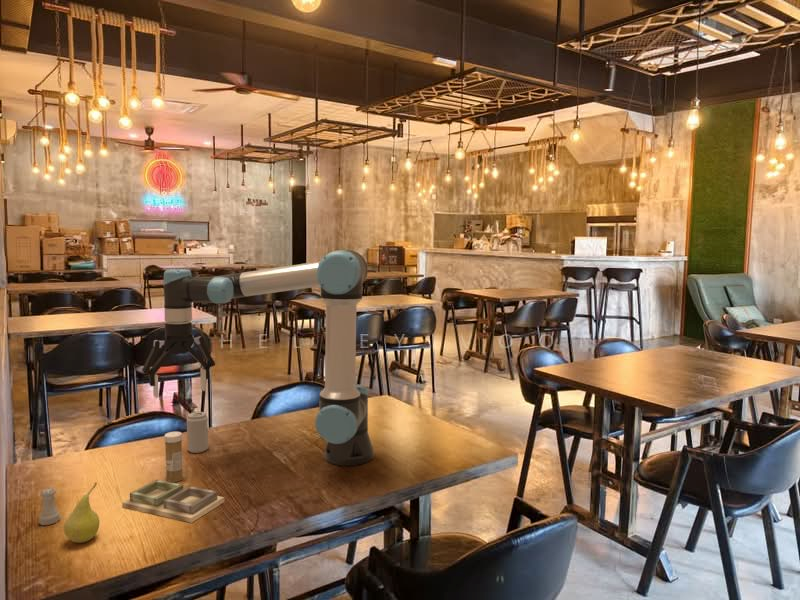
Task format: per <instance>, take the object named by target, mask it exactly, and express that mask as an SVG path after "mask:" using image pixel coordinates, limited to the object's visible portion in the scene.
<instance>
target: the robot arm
mask: <svg viewBox="0 0 800 600" xmlns="http://www.w3.org/2000/svg"><path fill="white" fill-rule="evenodd" d="M368 267H369V266H368V263H367V261H366V260H365V258H364V257H363V256H362V255H361V254H360V253H359V252H356V251H354V250H349V249H347V250H342V249H339V250H338V249H337V250H333V251H331V252H329V253H327V254H326V255H325V256H323V257H322V258H321V259H320V261H313V262H305V263H300V264H291V265H286V266H280V267H279V266H277V267H273V268H272V267H271V268H265V269H258V270H252V271H245V272H237V273H229V274H228V273H227V274H223V275H213V276H193V275H192V271H191V270H190V269H184V268H183V269H182V268H181V269H179V268H178V269H176V268H175V269H166V270H165V271H164V272H163V284H162V286H163V299H164V306H163V307H164V322H165V324H164V339H163V340H157V339H154V340H153V343H152V348H151V350H150V353H149V355H148V357H147V359H146V361H145V363H144V364H143V367H142V369H141V372H142V373H143V374H145V375H148V377H149V378H148V379H149V380H148V382H149V383H148V384H149V386H151V387H152V390H153V391H152V392H153V394H152V395H153V397H154V398H156V399H158V398H159V397H160V396H159V375H158V374H157V373H158V372H159V370H160V368H161V367H162V366H163V365H164V364H165V362H166V361H167V360H168V358H170V357H171V356H172V354H173V355H180V354H187V353H189V354H190V355H191V356H192V357H193V358H194V359H195V360H196V361H197V362H198V364H200V365H201V366H202V367H201V368H200V372H199V373H200V390H201V391H203V392H205V391H207V380H209V379H210V369H211V368H212V367H215V366H216V362H215V360H214V358H213V356H212V355H211V353H210V352H209V349H208V348H207V346H206V344H205V340H204V337H203V336H200V335H198V336H197V337H194V336H193V323H192V322H191V321H192V320H193V304H192V303H203V304H205V303H209V304H217V305H218V304H226V303H229V302H230V301H231V299H232V300H233V299H237V298H245V297H251V296H259V295H266V294H273V293H281V292H282V293H283V292H288V291H289V292H290V291H295V290H302V289H303V290H304V289H310V288H317V287H318V288H319V287H320V300H321V301H322V302H324V304H325V353H324V354H325V355H324V356H325V358H324V359H325V362H324V363H325V364H324V365H325V366H324V367H325V368H324V388H323V389H321V390H320V392H319V403H318V404H319V407H318V410H319V411H318V412H317V414H316V416H315V421H314V425H315V429H316V432H317V434H318V435H319V437H320V438H322V439H323V440H324V441H326V442H327V443H326V447H325V449H324V456H325V457H324V459H325V461H326V462H327V463H329V464H332V465H337V466H343V467H345V466H347V467H348V466H350V467H351V465H352V466H359V465H358V464H360V465H363V463H364V464H367V463H369V462H370V461H372V460H373V459H372V458H374V447H373V444H372V441H371V439H370V435H369V426H368V425H369V423H368V421H369V416H368V415H369V404H368V403H369V392H368V388H367V386H366V385H364V384H356V364H357V363H356V359H357V358H356V357H357V355H356V354H357V352H356V349H357V346H356V345H357V305H358V304H359V303H360V302H361V301H362V300H363V283H364V282H365V281H366V279H367V277H368V272H369V268H368ZM194 343H195V344H196V345H198V347H199V349H200V351H201V352H202V353H203V356H204V358H205V359H206V361H207V362H206V361H205V360H204V359H203V357H201V356H200V355H199V354H198V353H197V352H196V351H195V349H194V348H193V347H192V346H193V345H194ZM163 346H164V347H165V349H164V351H163V353H162V354H161V355H160V356H159V358H158V359H157V360H156V361H155V359H156V357H157V355H158V353H159V352H160V349H162V347H163ZM154 361H155V363H154ZM153 363H154V364H153ZM371 459H372V460H371ZM368 461H369V462H368ZM366 462H367V463H366Z"/></svg>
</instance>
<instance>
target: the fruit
mask: <svg viewBox="0 0 800 600" xmlns="http://www.w3.org/2000/svg"><path fill="white" fill-rule="evenodd" d="M97 484H98V483H97V481H95V482H94V484H93V486H92V487H91V488H90V490H89V491H88V492H87V493H86V494H84V495H83V496H82V497H81V498H80V500H79V501H78V502H77V504H76V506H75V507H74V509H73V510H72V511H71V513H70V514H69V516H68V517H67V519H66V520H65V522H64V524H63V532H64V535H65V536H66V537H67V538H68V539H69V540H70V541H71V542H73V543H76V544H77V543H78V544H83V543H86V542H88V541H90V540H91V539H94V537H95V536H96V535H97V534H98V531H99V529H100V517H99V515H98V514H97V512H96V511H93V510H92V507H91V504H90V494H91V493H92V491H93V490H94V489H95V488H96V486H97Z"/></svg>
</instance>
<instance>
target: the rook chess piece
mask: <svg viewBox="0 0 800 600" xmlns="http://www.w3.org/2000/svg"><path fill="white" fill-rule="evenodd" d="M56 493H57V491H56V490H55V488H54V486H53V487H51V486H49V487H48V488H47V487H44V488H43V489H41V493H40V494H39V495H40V497H41V498H42V499H41V502H42V507H41V509H42V510H41V512H40V514H39V516H38V519H39V520H38V524H40V525H41V526H51V525H53V524H56V523H58V522H59V521H60V519H61V513H60V511H59V510H58V508H57V507H56V503H55V501H56V497H55V494H56Z"/></svg>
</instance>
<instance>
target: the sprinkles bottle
mask: <svg viewBox="0 0 800 600" xmlns="http://www.w3.org/2000/svg"><path fill="white" fill-rule="evenodd" d="M182 440H183V434H182V432H181V431H169V432H167V433H165V434H164V444H165V445H164V446H165V473H166V474H165V476H166V477H165V481H166V482H171V483H177V482H181V481H182V480H183V478H184V475H183V449H182V448H183V447H182V446H183V445H182Z"/></svg>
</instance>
